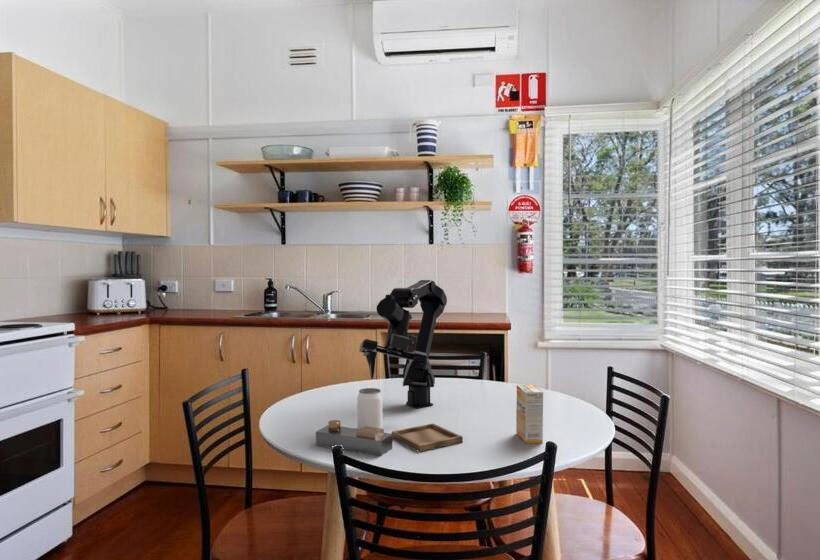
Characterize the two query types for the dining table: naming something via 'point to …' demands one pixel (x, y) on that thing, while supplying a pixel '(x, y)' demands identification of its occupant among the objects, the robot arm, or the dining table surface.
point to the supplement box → (529, 414)
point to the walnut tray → (426, 437)
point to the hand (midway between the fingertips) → (387, 382)
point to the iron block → (354, 438)
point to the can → (369, 408)
